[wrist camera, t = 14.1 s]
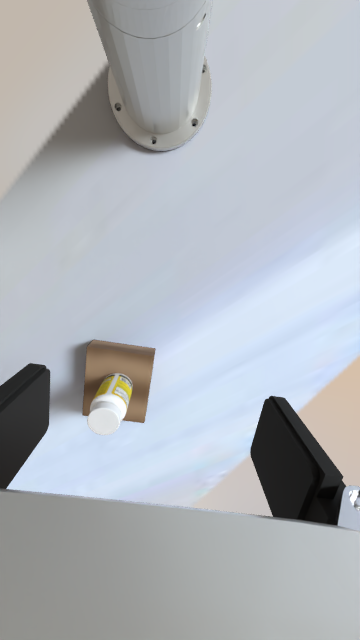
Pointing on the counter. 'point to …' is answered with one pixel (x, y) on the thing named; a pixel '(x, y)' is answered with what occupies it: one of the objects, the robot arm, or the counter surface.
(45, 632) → the robot arm
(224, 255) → the counter surface
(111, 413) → the supplement bottle
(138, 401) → the walnut base
